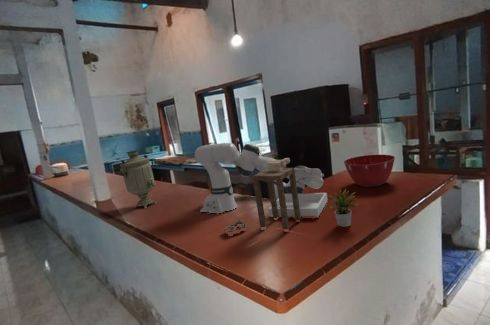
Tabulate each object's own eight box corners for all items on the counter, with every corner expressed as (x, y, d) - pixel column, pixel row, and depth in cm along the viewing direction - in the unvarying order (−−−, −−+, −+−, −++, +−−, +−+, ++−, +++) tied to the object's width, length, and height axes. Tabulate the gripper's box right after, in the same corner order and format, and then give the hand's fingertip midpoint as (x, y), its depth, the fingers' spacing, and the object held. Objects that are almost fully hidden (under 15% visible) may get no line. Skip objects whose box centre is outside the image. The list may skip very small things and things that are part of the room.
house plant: (337, 236, 124) (332, 197, 121) (319, 225, 137) (315, 190, 134) (367, 227, 127) (363, 189, 124) (347, 217, 140) (343, 183, 138)
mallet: (283, 164, 153) (281, 156, 152) (293, 164, 149) (292, 156, 148) (268, 171, 142) (267, 163, 141) (280, 171, 138) (279, 162, 137)
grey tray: (269, 217, 156) (268, 208, 155) (283, 202, 177) (282, 193, 176) (318, 218, 145) (317, 208, 144) (327, 201, 166) (326, 192, 165)
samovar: (132, 216, 197) (118, 155, 190) (119, 210, 217) (106, 155, 210) (174, 202, 215) (162, 146, 208) (158, 197, 235) (147, 146, 229)
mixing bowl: (336, 186, 192) (333, 162, 189) (369, 175, 203) (367, 152, 201) (372, 194, 167) (369, 166, 164) (408, 181, 178) (406, 155, 175)
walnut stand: (275, 218, 153) (268, 168, 149) (301, 221, 145) (294, 167, 140) (260, 230, 142) (252, 176, 138) (287, 233, 134) (279, 175, 129)
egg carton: (241, 227, 151) (240, 219, 150) (249, 231, 144) (248, 222, 143) (222, 233, 146) (220, 225, 145) (229, 238, 139) (227, 230, 138)
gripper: (324, 182, 161) (314, 175, 151) (290, 181, 173) (278, 175, 163) (325, 170, 163) (315, 162, 152) (291, 170, 175) (279, 164, 164)
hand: (296, 169), depth 157 cm, fingers open, 8 cm apart
